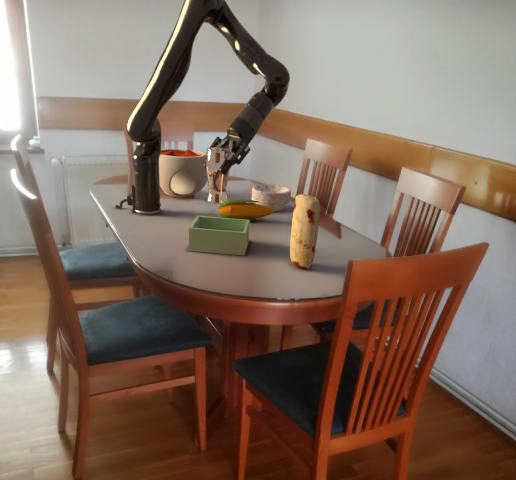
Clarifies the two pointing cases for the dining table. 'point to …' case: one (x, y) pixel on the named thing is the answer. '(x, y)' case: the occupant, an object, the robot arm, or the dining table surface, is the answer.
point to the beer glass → (216, 175)
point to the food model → (304, 230)
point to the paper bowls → (271, 196)
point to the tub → (219, 235)
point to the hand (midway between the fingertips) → (213, 170)
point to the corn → (244, 210)
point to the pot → (182, 172)
